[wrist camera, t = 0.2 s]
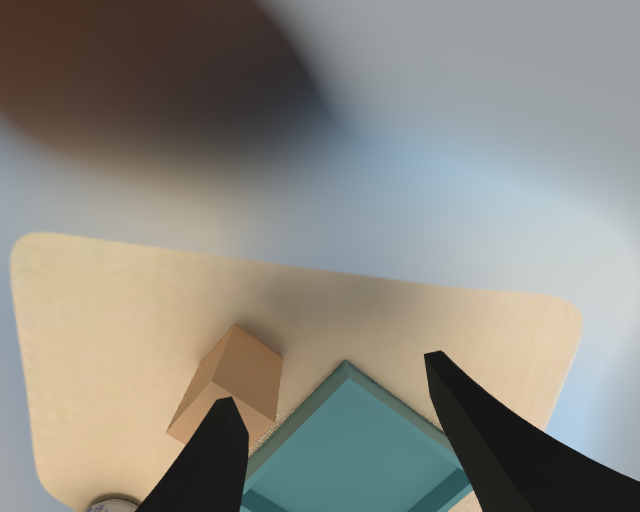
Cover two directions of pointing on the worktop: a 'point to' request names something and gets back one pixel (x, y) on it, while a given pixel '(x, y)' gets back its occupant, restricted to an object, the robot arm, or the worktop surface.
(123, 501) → the beverage can
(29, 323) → the worktop surface
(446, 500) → the teal tray
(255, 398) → the tan rectangular block
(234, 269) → the worktop surface
